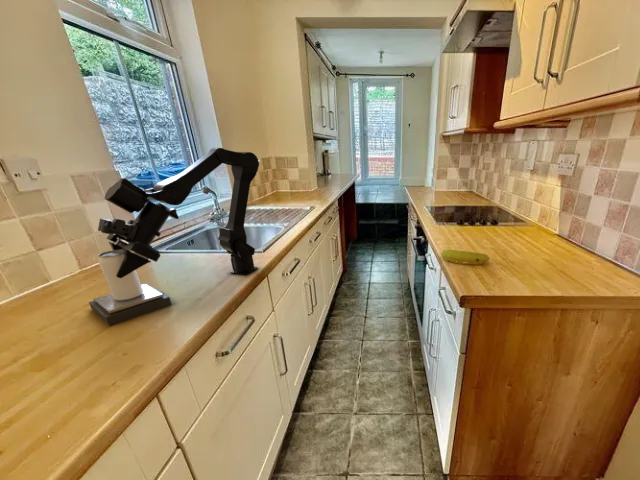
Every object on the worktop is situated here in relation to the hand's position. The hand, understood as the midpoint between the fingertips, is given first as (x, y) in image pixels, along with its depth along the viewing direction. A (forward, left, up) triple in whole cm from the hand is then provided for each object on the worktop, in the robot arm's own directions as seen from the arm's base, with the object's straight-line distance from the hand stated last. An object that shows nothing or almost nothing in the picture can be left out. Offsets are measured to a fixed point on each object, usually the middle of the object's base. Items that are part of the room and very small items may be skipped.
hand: (113, 274), depth 81 cm
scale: (-1, -1, -10) cm, 10 cm away
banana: (-86, -64, -8) cm, 107 cm away
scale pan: (0, -1, -7) cm, 8 cm away
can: (-1, -1, -7) cm, 7 cm away
